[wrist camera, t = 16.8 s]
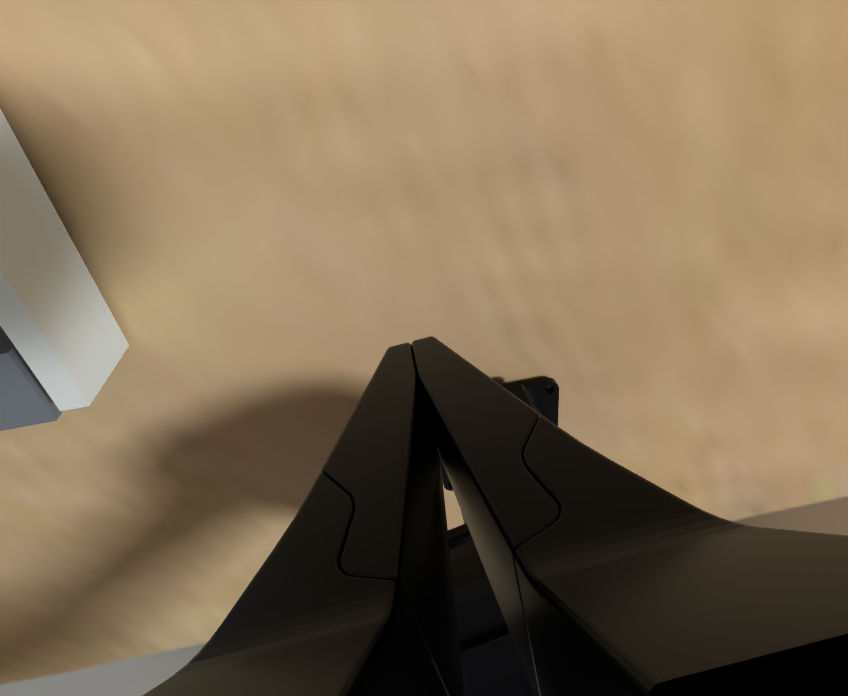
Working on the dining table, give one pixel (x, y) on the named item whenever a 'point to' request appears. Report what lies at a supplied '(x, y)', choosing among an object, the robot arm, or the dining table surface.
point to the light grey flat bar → (50, 289)
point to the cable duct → (21, 391)
